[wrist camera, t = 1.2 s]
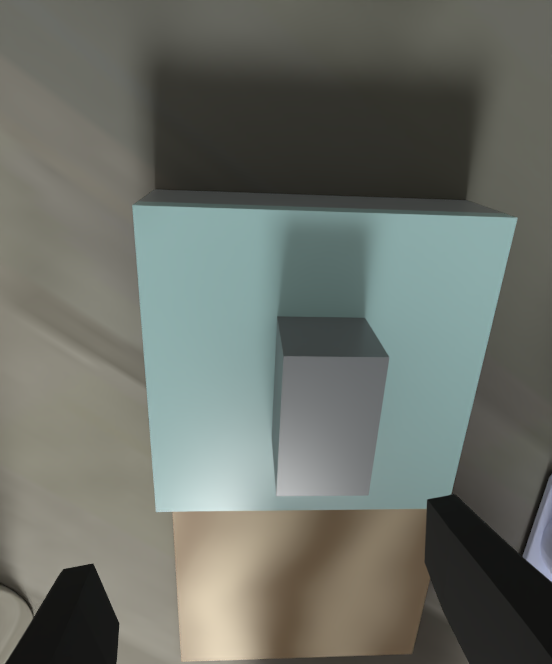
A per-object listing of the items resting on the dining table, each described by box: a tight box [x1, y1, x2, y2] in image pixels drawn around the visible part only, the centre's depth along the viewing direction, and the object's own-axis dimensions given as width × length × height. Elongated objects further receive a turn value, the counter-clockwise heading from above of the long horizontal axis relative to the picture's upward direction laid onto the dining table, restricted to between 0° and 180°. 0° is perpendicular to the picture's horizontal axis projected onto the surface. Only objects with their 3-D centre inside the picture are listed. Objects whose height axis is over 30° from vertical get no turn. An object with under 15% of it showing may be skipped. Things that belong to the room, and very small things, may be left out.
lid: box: [132, 201, 517, 512], centre depth 16 cm, size 12×12×4 cm
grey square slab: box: [139, 189, 502, 213], centre depth 19 cm, size 12×12×3 cm
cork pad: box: [172, 509, 430, 662], centre depth 26 cm, size 14×14×1 cm
